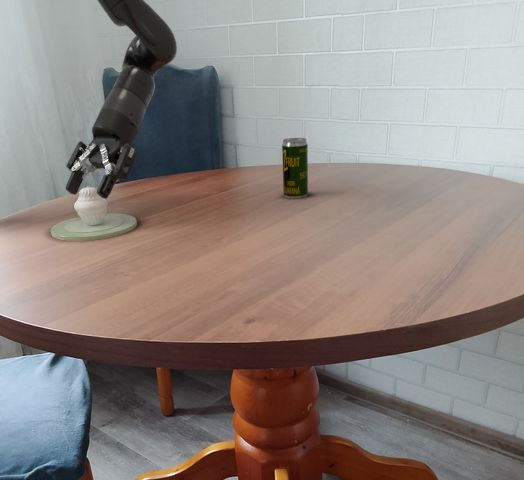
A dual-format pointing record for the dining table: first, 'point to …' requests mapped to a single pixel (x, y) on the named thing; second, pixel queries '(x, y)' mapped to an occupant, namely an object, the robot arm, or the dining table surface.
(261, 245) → the dining table surface
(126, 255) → the dining table surface
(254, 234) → the dining table surface
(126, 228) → the plate
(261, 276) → the dining table surface
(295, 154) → the green drink can
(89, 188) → the muffin
